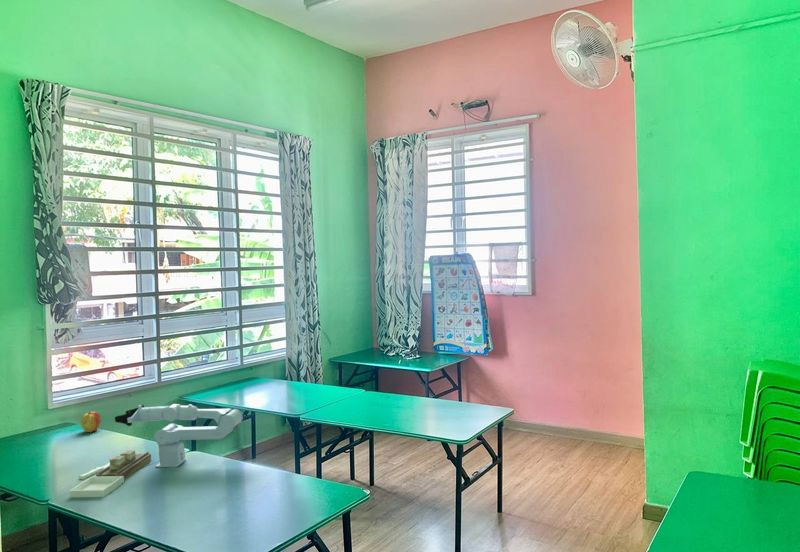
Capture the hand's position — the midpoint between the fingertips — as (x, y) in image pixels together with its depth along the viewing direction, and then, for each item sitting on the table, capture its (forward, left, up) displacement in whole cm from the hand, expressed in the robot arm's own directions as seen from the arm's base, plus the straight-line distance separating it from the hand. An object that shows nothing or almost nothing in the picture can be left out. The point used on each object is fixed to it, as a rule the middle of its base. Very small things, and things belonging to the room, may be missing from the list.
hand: (121, 416), depth 237 cm
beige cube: (-5, +5, -17) cm, 19 cm away
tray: (-5, +25, -20) cm, 33 cm away
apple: (+45, -46, -21) cm, 68 cm away
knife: (+8, 0, -21) cm, 23 cm away
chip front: (-4, +11, -17) cm, 21 cm away
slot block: (-5, +7, -20) cm, 22 cm away
